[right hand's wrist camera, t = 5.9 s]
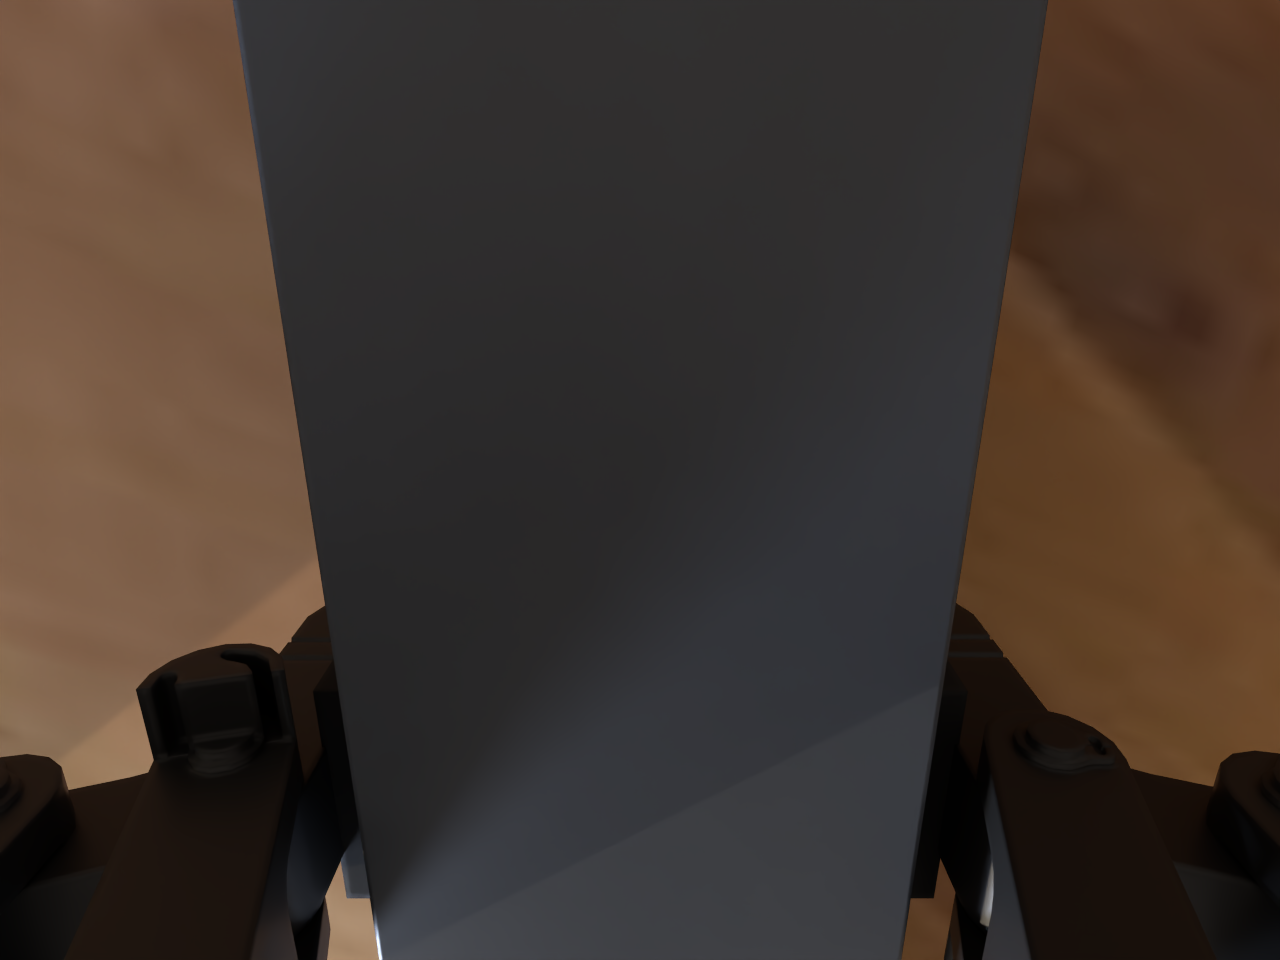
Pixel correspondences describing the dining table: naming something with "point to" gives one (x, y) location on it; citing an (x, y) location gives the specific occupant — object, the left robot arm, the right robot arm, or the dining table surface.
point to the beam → (640, 444)
